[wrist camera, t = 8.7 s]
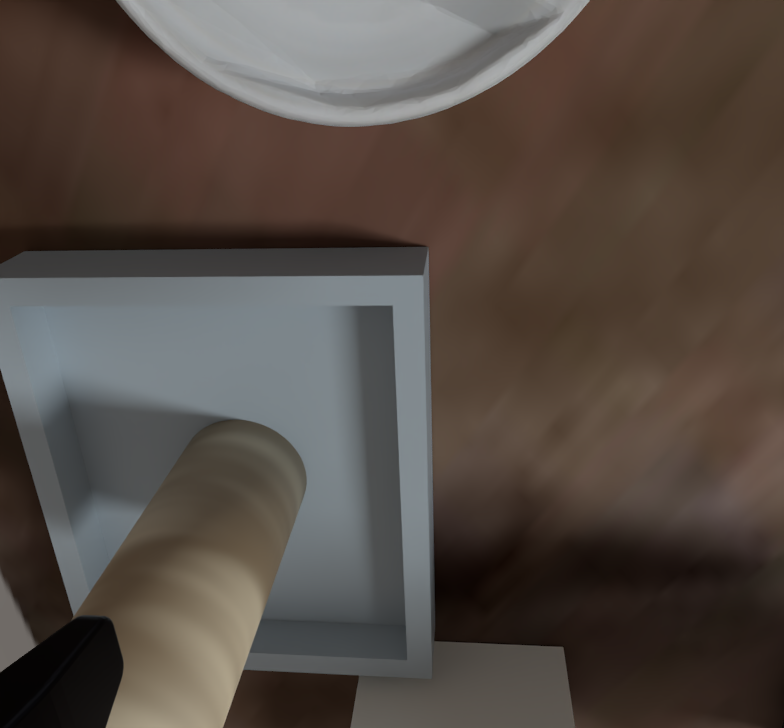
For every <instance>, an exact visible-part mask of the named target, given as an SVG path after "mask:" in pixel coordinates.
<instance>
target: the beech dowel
mask: <svg viewBox="0 0 784 728" xmlns="http://www.w3.org/2000/svg"><path fill="white" fill-rule="evenodd" d="M306 484H307V476H306V470H305V467H304V464H303V461H302V459H301V457H300V455H299V454H298V452H297V451H296V449H295V448H294V447H293V446H292V444H291V443H290V442H289V441H288V440H287V439H285V438H284V437H283V436H282V435H280V434H279V433H278V432H276V431H274V430H273V429H271V428H269V427H267V426H264V425H262V424H259V423H256V422H252V421H246V420H225V421H220V422H217V423H213V424H211V425H209V426H207V427H205V428H203V429H202V430H200V431H199V432H198V433H197V434H196V435H195V436H194V437H193V438H192V439H191V441H190V442H189V444H188V445H187V447H186V448H185V450H184V451H183V453H182V454H181V456H180V457H179V459H178V460H177V462H176V463H175V465H174V466H173V468H172V469H171V471H170V472H169V474H168V475H167V477H166V478H165V480H164V481H163V483H162V484H161V486H160V487H159V489H158V490H157V492H156V493H155V495H154V496H153V498H152V499H151V501H150V502H149V504H148V505H147V507H146V508H145V510H144V511H143V513H142V514H141V516H140V517H139V519H138V520H137V522H136V523H135V525H134V526H133V528H132V529H131V531H130V532H129V534H128V536H127V537H126V539H125V540H124V542H123V543H122V545H121V546H120V548H119V549H118V551H117V552H116V554H115V555H114V557H113V558H112V560H111V561H110V563H109V564H108V566H107V567H106V569H105V570H104V572H103V573H102V575H101V576H100V578H99V579H98V581H97V582H96V584H95V585H94V587H93V588H92V590H91V591H90V593H89V594H88V596H87V597H86V599H85V600H84V602H83V603H82V605H81V606H80V608H79V609H78V611H77V612H76V614H75V615H74V617H73V618H72V620H73V619H75V618H76V617H78V616H82V615H96V616H107V617H109V618H110V619H111V620H112V621H113V624H114V627H115V631H116V634H117V638H118V642H119V645H120V649H121V653H122V656H123V662H124V669H123V676H122V679H121V683H120V686H119V689H118V692H117V695H116V698H115V701H114V704H113V707H112V710H111V713H110V716H109V719H108V722H107V725H106V728H223V726H224V723H225V720H226V717H227V714H228V711H229V709H230V706H231V703H232V700H233V697H234V694H235V691H236V689H237V686H238V683H239V680H240V677H241V674H242V671H243V669H244V666H245V663H246V660H247V657H248V654H249V651H250V649H251V646H252V643H253V640H254V637H255V634H256V631H257V629H258V626H259V623H260V620H261V617H262V614H263V612H264V609H265V606H266V603H267V600H268V597H269V594H270V592H271V589H272V586H273V583H274V580H275V577H276V574H277V572H278V569H279V566H280V563H281V560H282V557H283V554H284V552H285V549H286V546H287V543H288V540H289V537H290V534H291V532H292V529H293V526H294V523H295V520H296V517H297V514H298V512H299V509H300V506H301V503H302V500H303V497H304V494H305V491H306ZM72 620H71V621H72Z"/></svg>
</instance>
